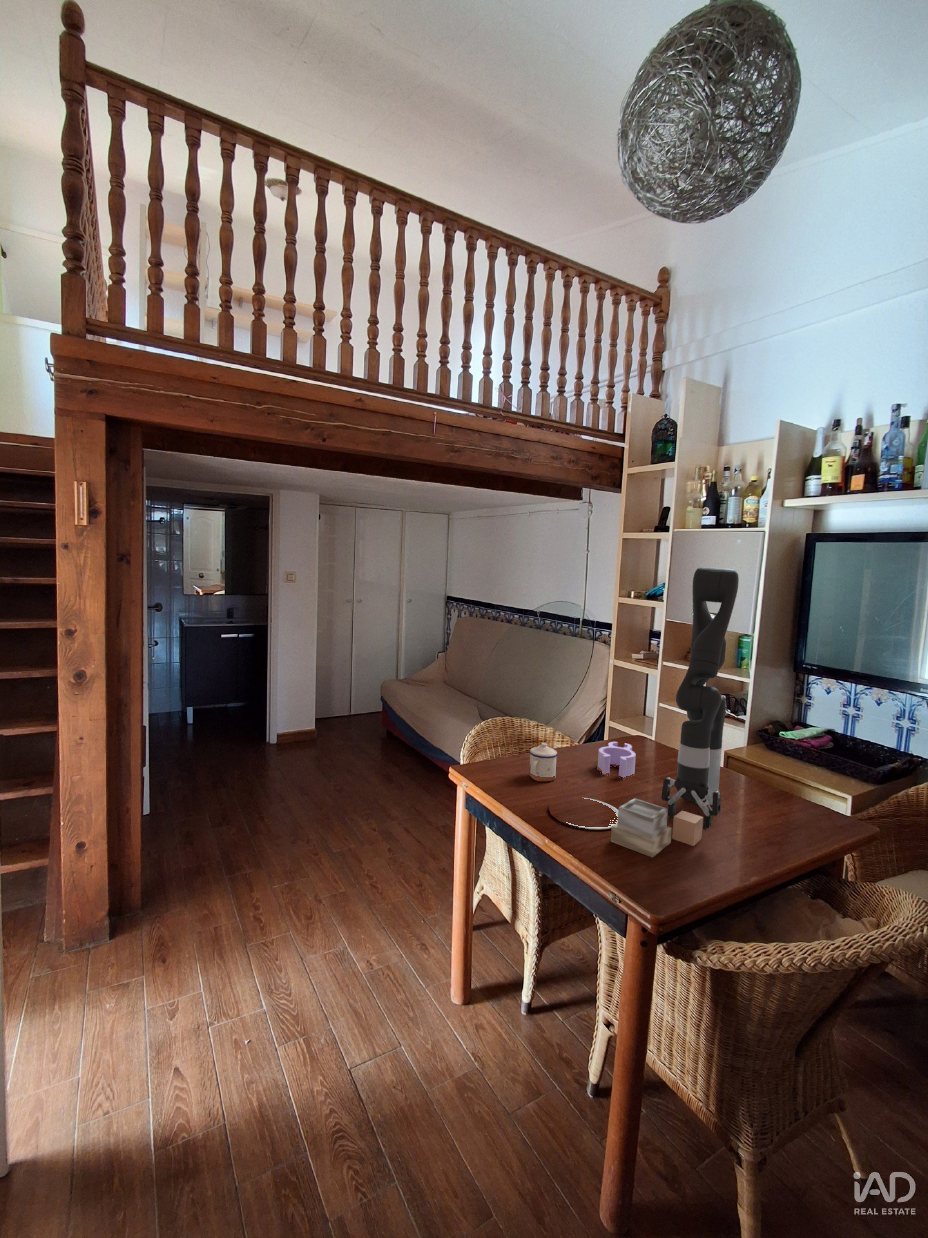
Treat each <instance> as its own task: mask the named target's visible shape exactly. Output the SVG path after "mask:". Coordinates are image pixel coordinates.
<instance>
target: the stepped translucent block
mask: <svg viewBox="0 0 928 1238" xmlns="http://www.w3.org/2000/svg"><path fill="white" fill-rule="evenodd" d="M618 810H619V811H618V823H616V824H615V825H613V826H612V828H611V832H610V842H611V843H614V844H616V845H618V846H621V847H623V848H627V849H630V850H632V851H635V852H638V853H640V854H642V855H645V856H647V857H650V858H652V859H653V858H654V857H656V855H658V854H659V853H660V852H661V851H663V849H665V848H666V847H667V846H669V845H670V844H671V843H672V833H673V827H671V826H667V824H668V807H663V806H661V805H657V804H654V803H651V802H650V801H649V802H648V801H645V800H642V799H639V798H637V797H634V798H633V799H631V800H629V801H627V802H626V803H623V804H622V805H620V806H618Z"/></svg>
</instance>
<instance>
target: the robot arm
mask: <svg viewBox="0 0 928 1238" xmlns="http://www.w3.org/2000/svg"><path fill="white" fill-rule="evenodd" d="M739 581H740V579H739V573H738V571H737V570H736V569H733V568H723V567H710V566H709V567H705V566H702V567H701V566H699V567H698V568H697V569H696V570H695V572H694V574H693V578H692V628H691V630H692V631H691V641H690V654H689V655H690V658H689V659H690V660H689V663H688V664H689V665H688V668H687V671H686V672H685V675H684V678H683V680H682V681H681V683H680V685H679V687H678V689H677V691H676V694H675V695H676V696H675V702H676V706H677V707H678V708H679V709H680V710H682V711H685V712H686V716H687V718H688V720H684V721H683V722H682V723H681V727H680V728H681V729H680V740H679V748H678V754H677V764H676V765H677V766H676V767H677V768H676V769H677V770H676V779H673V778H672V777H671V776H668V777H666V778H664V779H663V784H662V790H661V796H660V798H661V800H662V801H665V802H666V803H667V805H668V807H667V809H668V810H667V812H668V813H667V817H669V819H670V820H674V816H675V815H677V814H676V813H677V812H676V811H677V803H676V802H677V801H678V800H680V799H682V800H683V801H688V802H691V803H694V804H697V805H698V807H699V808H700V809H701V811H702V812H703V814H704V815H703V825H702V830H703V831H704V830H705V831H707V830H708V829H710V827H711V826H712V819H713V816H714V817H716V816H719V814H720V813H721V812H722V811H721V806H722V805H721V803H722V802H721V801H722V800H721V799H722V796H721V795H722V792H721V790H719V787H720V786H719V785H720V774H721V761H722V760H721V759H722V748H723V735H724V734H723V733H724V725H725V718H726V710H727V700H726V697H725V696H724V695H722V694H721V693H720V691H719V689H718V688H716V687H713V686H705V684H706V683H707V682H708V681H709V680H710V679H714V678H716V677H717V676H718V672H719V670H720V669H721V668H722V666H723V665H724V663H725V660H726V652H727V650H726V649H727V640H726V634H727V631H728V627H729V624H730V622H731V621H730V620H731V618H732V614H733V610H734V608H735V607H734V606H735V603H736V600H737V599H736V598H737V594H738V589H739ZM707 602H710V603H720V607H719V609H718V611H717V613H716V614H715V616H714V617H712V615H711V613H710V611H709V607H708V605H707V604H708V603H707ZM673 786H674V787H675V789H676V791H677V792H676V793H675V794H674V795H673V796H670V795H671V788H672V787H673ZM711 806H712V807H711Z"/></svg>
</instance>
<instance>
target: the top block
mask: <svg viewBox="0 0 928 1238" xmlns="http://www.w3.org/2000/svg"><path fill="white" fill-rule="evenodd" d="M703 821H704V816H701V815H697V814H694V813H691V812H688V811H684V810H681V811H679V812H678V813H677V814H676V815H675V816H674V819H672V822H673V823H672V832H671V840H675V841H678V842H680V843H684V844H687V845H689V846H692V847H694V846H695V845H697V844H698V843H700V841H701V840H702V835H703Z"/></svg>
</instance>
